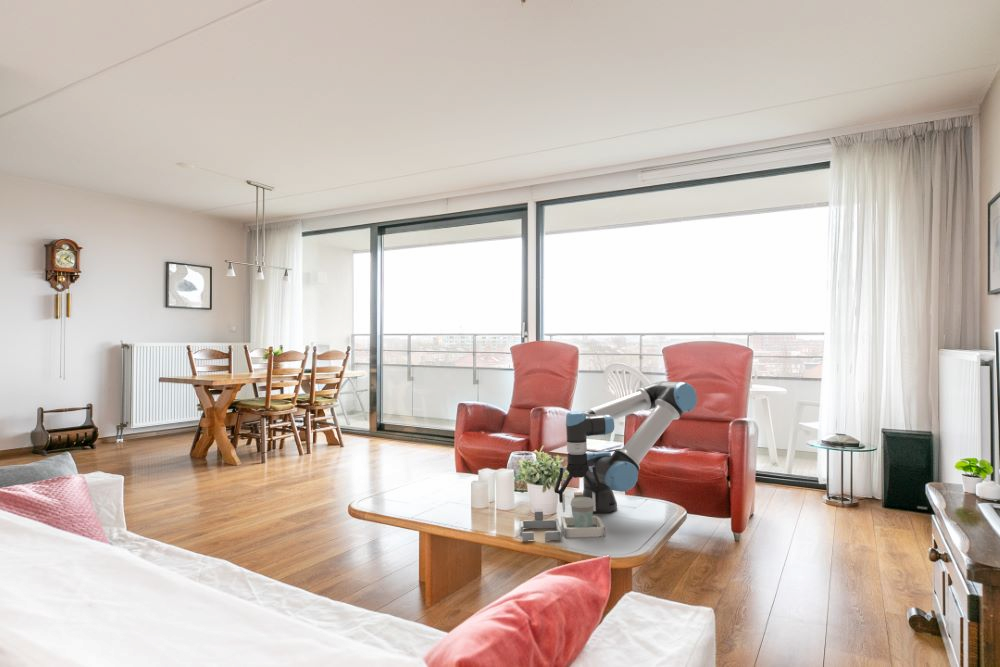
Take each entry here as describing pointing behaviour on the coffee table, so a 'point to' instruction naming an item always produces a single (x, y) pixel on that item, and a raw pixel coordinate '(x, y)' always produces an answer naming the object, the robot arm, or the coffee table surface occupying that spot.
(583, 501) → the coffee cup
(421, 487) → the coffee table surface
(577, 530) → the grey tray bin
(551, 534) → the grey block base
